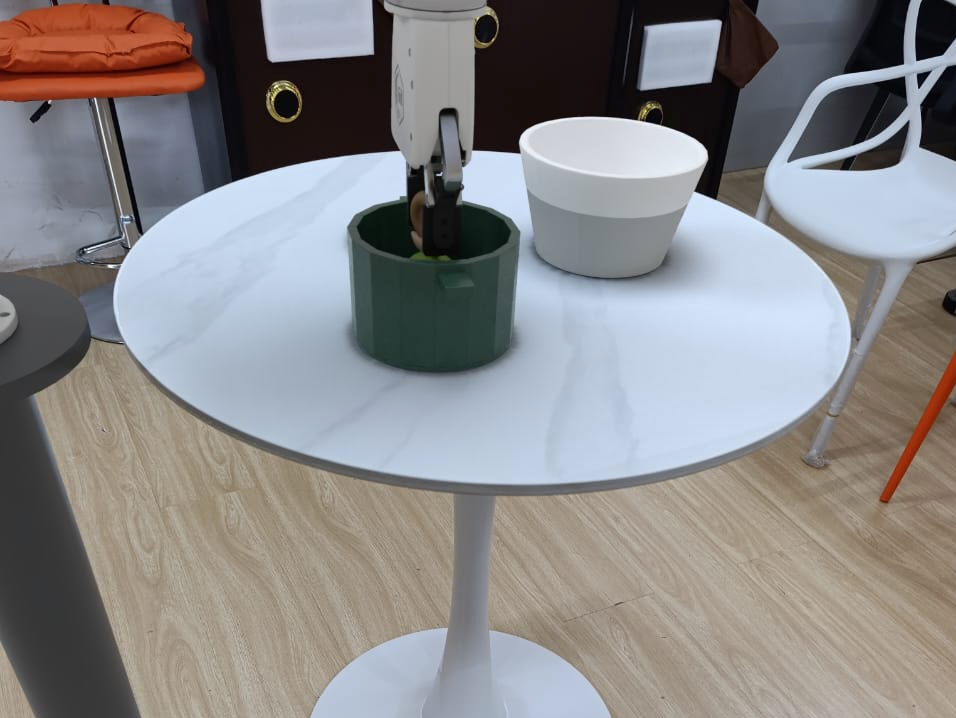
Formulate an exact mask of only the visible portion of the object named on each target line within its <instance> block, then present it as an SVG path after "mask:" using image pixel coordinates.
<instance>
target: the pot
mask: <svg viewBox="0 0 956 718" xmlns="http://www.w3.org/2000/svg"><path fill="white" fill-rule="evenodd" d="M412 231H415V232H416V230H415V228H414V227H411V226H410V225H409V223H408V220H407V196H406V195H399V199H396V200H391V201H386V202H381V203H377V204H373V205H371V206H370V207H367V208H365V209H363V210H361V211H359V212H357V213H356V214H354V216H353V217H352V219H351V220H350V221H349V223H348V225H346V235H347V236H346V238H347V253H348V271H349V288H350V289H349V290H350V304H351V305H350V306H351V324H352V329H353V335H354V339H355V342H356V344H357V346H358V347H359V348H360V349H361V350H362V351H363V352H364V353H365V354H366V355H367V356H369V357H371V358H372V359H375V360H376V361H378V362H381V363H382V364H385V365H388V366H391V367H394V368H397V369H403V370H406V371H407V370H408V371H413V372H422V373H454V372H461V371H467V370H472V369H475V368H478V367H482V366H485V365H487V364H489V363H491V362H494V361H495V360H497V359H498V358H500V357H502V356H503V355H504V354H505V353H506V352H507V350H508V349H509V347H510V345H511V343H512V340H513V339H512V338H513V332H514V328H515V327H514V325H515V315H516V298H517V287H518V285H517V284H518V272H519V260H520V259H519V258H520V244H521V233H522V232H521V230H520V229H519V228H518V226H517V224H516V223H515V222H514V221H513V218H511V217H510V216H508V215H505V214H504V213H502V212H500V211H498V210H497V209H494V208H493V207H489V206H485V205H482V204H477V203H474V202H470V201H466V200H462V225H461V251H460V253H459V254H458V255H447V257H449V258H450V259H451V260H446V261H429V260H419V259H410V257H412V256H413V255H414V254H416V253H418V252H421V251H420V250H419V249H418V248H417V247H416V245H415V244H414V241H413V239H412V236H411V232H412Z"/></svg>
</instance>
